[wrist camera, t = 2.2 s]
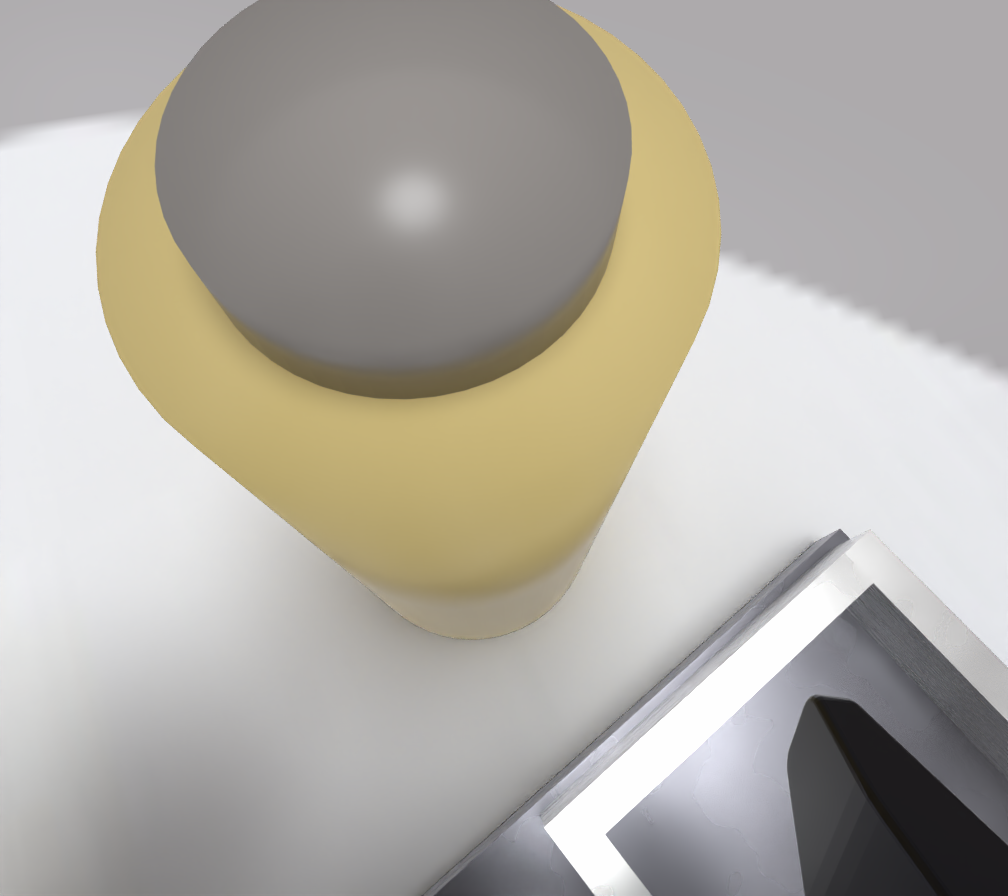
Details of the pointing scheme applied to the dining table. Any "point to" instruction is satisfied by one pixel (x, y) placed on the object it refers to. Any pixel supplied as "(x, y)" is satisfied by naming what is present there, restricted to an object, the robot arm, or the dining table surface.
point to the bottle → (416, 283)
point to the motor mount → (757, 740)
